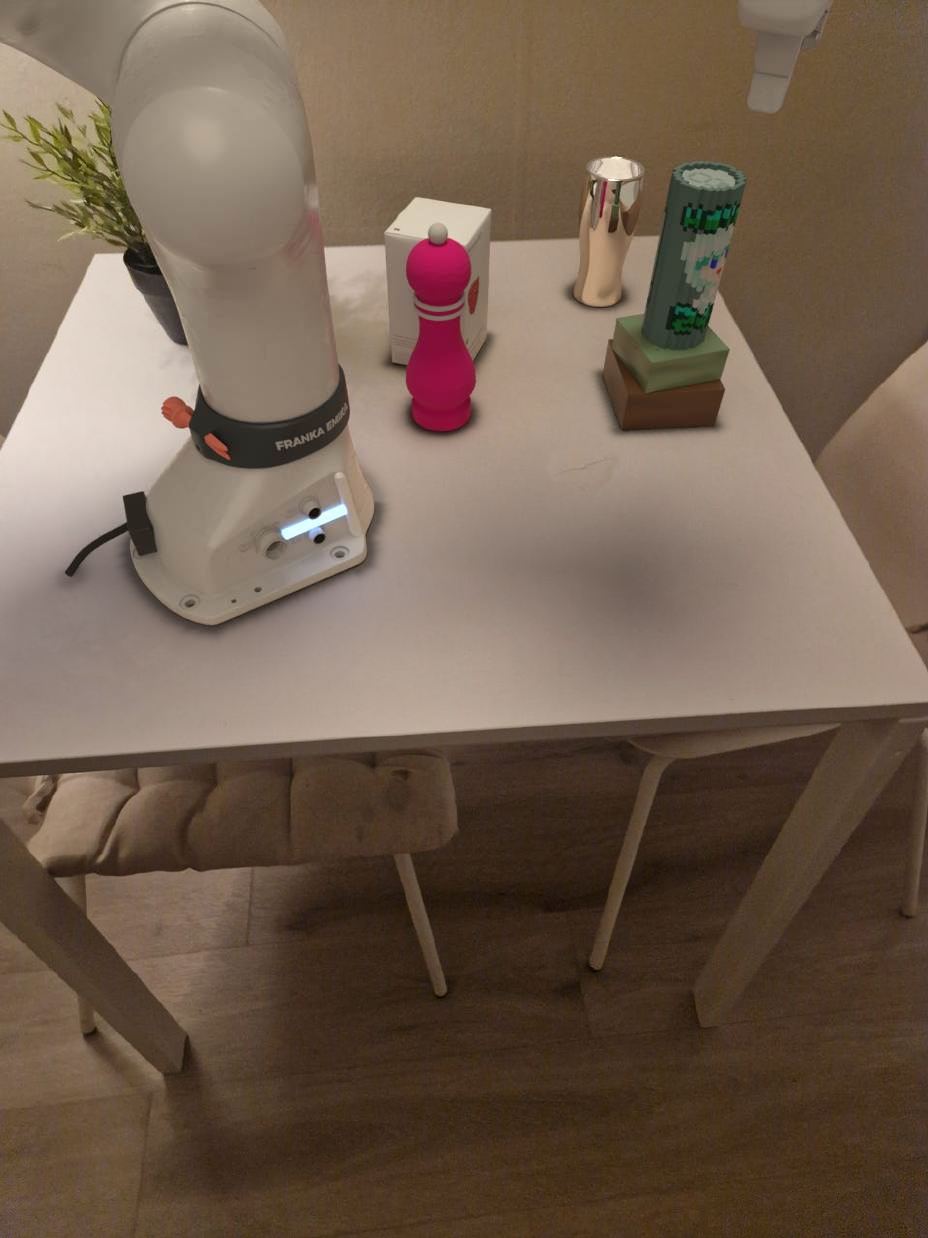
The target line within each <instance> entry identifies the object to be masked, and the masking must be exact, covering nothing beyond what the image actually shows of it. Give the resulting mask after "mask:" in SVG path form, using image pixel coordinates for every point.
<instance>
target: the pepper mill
mask: <svg viewBox="0 0 928 1238" xmlns="http://www.w3.org/2000/svg"><path fill="white" fill-rule="evenodd" d="M428 237H429V238H426V239H424V240H422V241H420V242H419V243H417V244H416V245H415V246H414V247H413V248H412V250H411V252H410V253H409V255H408V258H407V262H406V277H407V280H408V283H409V285H410V286H411V288H412V289H413V290H414V292H413V301H414V302H413V309H414V311H415V312H416V313H417V314H418V317H419V336H418V341H417V343H416V346H415V348H414V350H413V352H412V354H411V356H410V359H409V362H408V365H406V370H405V385H406V389H407V391H408V392H409V394H410V395H411V396H412V398H411V415H412V418H413V420H414V421H415V422H416V424H417V425H419V426H420V427H421V428H424V429H426V430H428V431H429V430H430V431H434V432H446V431H447V432H448V431H449V432H450V431H453V430H456V429H459V428H460V427H463V426H465V424H466V423H467V422H468V421H469V420H470V418H471V415H472V399H471V395H472V393H474V390H475V388H476V383H477V376H476V367H475V364H474V360H473V361H472V358H471V355H470V353H469V351H468V349H467V347H466V345H465V343H464V340H463V338H462V335H461V330H460V317H461V314H462V313H463V312H464V310H465V308H466V303H465V299H466V294H465V291H464V290H465V288H466V287H467V286H468V284H469V281H470V279H471V262H470V258H469V255H468V253H467V251H466V250H465V248H464V247H463V246H462V245H461V244H460V243H459V242H457V241H455V240H453V239H451V238H447V237H448V230H447V228H446V226H445V225H444V224H442V223H438V222H437V223H434V224H432V225H431V226H430V227H429V230H428Z"/></svg>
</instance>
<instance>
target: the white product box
mask: <svg viewBox="0 0 928 1238" xmlns="http://www.w3.org/2000/svg"><path fill="white" fill-rule="evenodd" d="M437 222H438V223H442V224H444V225H445V226H446V228H447V230H448V237H447V238H451V239H453V240H455V241H457V242H459V243H460V244H461V245H462V246H463V247H464V248H465V250H466V251H467V253H468V255H469V258H470V262H471V279H470V281H469V284H468V286H467V287H466V288H465V290H464V291H465V294H466V299H465V303H466V308H465V310H464V312H463V313H462V314H461V317H460V330H461V335H462V338H463V340H464V343H465V345H466V347H467V349H468V351H469V353H470V355H471V358H472V361H473V362H474V360H475V359H476V357H477V355H478V354H479V352H480V350H481V348H482V347H483V345H484V343H485V341H486V339H487V336H488V314H489V313H488V312H489V311H488V310H489V285H490V284H489V283H490V258H491V257H490V255H491V253H490V252H491V226H492V225H491V224H492V209H491V208H487V207H482V206H477V205H469V204H463V203H455V202H448V201H443V200H437V199H432V198H426V197H418V196H416V197H414V198H413V199H412V200H411V201H410V202H409V203H408V205H407V206H406V207H405V208H404V209H403V210H402V211H400V212H399V214H398V215H397V216H396V218H395V220H394V221H393V222H392V223H391V224H390V225H389V226H388V227H387V228H386V230H385V231H384V232H383V235H384V250H385V267H386V285H387V301H388V302H387V303H388V317H389V332H390V333H389V334H390V351H391V362H392V363H395V364H399V365H405V366H407V365H408V362H409V359H410V356H411V354H412V352H413V350H414V348H415V346H416V343H417V341H418V336H419V317H418V314H417V313H416V312H415V311H414V309H413V302H414V301H413V292H414V290H413V289H412V288H411V286H410V285H409V283H408V280H407V277H406V262H407V258H408V255H409V253H410V252H411V250H412V248H413V247H414V246H415V245H416V244H417V243H419V242H420V241H422V240H424V239H426V238H429V237H428V230H429V227H430V226H431V225H432V224H434V223H437Z"/></svg>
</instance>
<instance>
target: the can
mask: <svg viewBox="0 0 928 1238" xmlns="http://www.w3.org/2000/svg"><path fill="white" fill-rule="evenodd" d="M738 169H739V168H738V167H735V166H732V165H729V164H725V163H723V162H720V161H717V162H714V161H710V160H706V161H704V160H699V161H697V160H693V161H691V162H687V161H685V162H683V163H681V164H680V165H677V166H675V167H674V168H672V171H671V175H670V181H669V185H668V189H667V190H668V191H667V196H666V201H665V206H664V210H663V211H664V212H663V216H662V221H661V226H660V232H659V236H658V242H657V248H656V252H655V257H654V263H653V268H652V273H651V277H650V282H649V287H648V292H647V298H646V304H645V309H644V313H643V314H644V318H643V323H642V328H641V331H642V334H644V335H643V337H645V338H647V339H648V342H650V343H652V344H654V345H656V346H659V347H661V348H663V349H665V348H669V349H671V350H673V351H674V350H675V349H677V350H679V351H680V350H681V349H683V350H687V349H688V348H689V347H690V348H695V347H696V346H698V345H699V344H700V343H702V342H703V341H704V339H705V336H706V332H707V328H708V326H709V324H710V320H711V317H712V313H713V309H714V305H715V301H716V298H717V294H718V290H719V288H720V283H721V279H722V275H723V272H724V268H725V264H726V260H727V257H728V253H729V249H730V245H731V242H732V237H733V234H734V231H735V227H736V222H737V219H738V216H739V215H738V214H739V211H740V208H741V204H742V200H743V196H744V192H745V189H746V185H747V180H748V178H747V177H746V174H744V172H743V171H741V170H738Z"/></svg>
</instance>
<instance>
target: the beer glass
mask: <svg viewBox="0 0 928 1238" xmlns="http://www.w3.org/2000/svg"><path fill="white" fill-rule="evenodd" d="M645 171H646V170H645V167H644V166H643V164H641V163H640V162H639V161H637V160H635V159H632V158H628V157H624V156H617V155H616V156H615V155H613V156H611V155H608V156H607V155H605V156H600V157H599V156H598V157H596V158H593V159H591V160H589V161H588V162H587V163H586V166H585V173H584V177H583V182H582V187H581V194H580V198H579V199H580V200H579V209H578V236H579V237H578V239H579V240H578V242H579V266H578V272H577V277H576V280H575V283H574V286H573V289H572V294H573V297H574V298H575V299H576V300H577V301H578V302H579V303H581V304H582V305H585V306H589V307H594V308H595V307H596V308H604V307H610V306H613V305H615V304H617V303H618V302H620V300H621V298H622V292H623V291H622V290H623V289H622V287H623V285H622V276H623V269H624V264H625V260H626V258H627V255H628V252H629V249H630V246H631V243H632V241H633V237H634V235H635V231H636V228H637V225H638V220H639V216H640V212H641V205H642V197H643V189H644V179H645Z"/></svg>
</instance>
